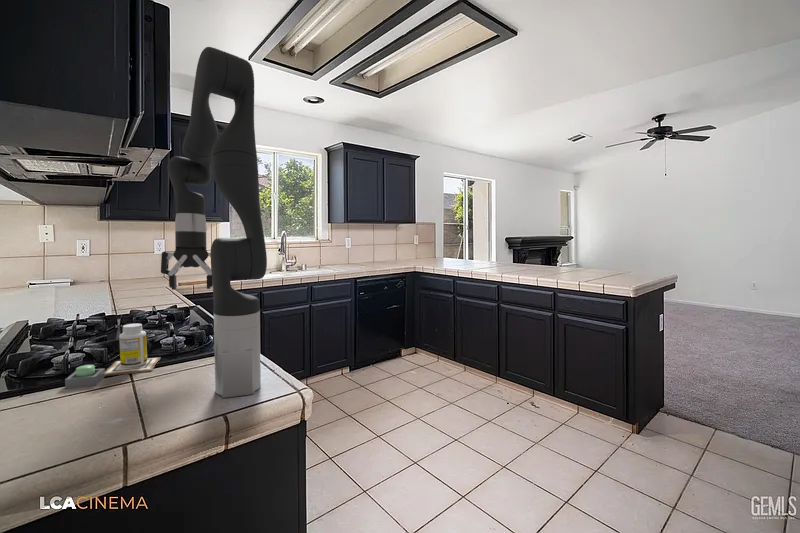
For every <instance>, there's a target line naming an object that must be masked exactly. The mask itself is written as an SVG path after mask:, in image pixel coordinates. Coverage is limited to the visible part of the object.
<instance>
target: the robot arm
mask: <svg viewBox="0 0 800 533" xmlns="http://www.w3.org/2000/svg"><path fill="white" fill-rule="evenodd" d="M254 74H255V73H254V69H253V66H252V63H250V62H249V61H248V60H246V59H244V58H243V57H239V56H237V55H235V54H232V53H229V52H226V51H224V50H221V49H218V48H216V47H212V46H206V47H204V48H203V50H202V51H201V52H200V55H199V58H198V61H197V65H196V70H195V77H194V85H193V91H192V98H191V99H192V100H191V109H190V115H189V117H190V118H189V123H188V127H187V129H186V134H185V135H184V139H183V143H182V148H181V149H182V154H183V155H184V156H185V157H184V156H178V155H177V156H173V157H171V158H170V159H169V160H168V163H167V173H168V176H169V179H170V182H171V185H172V188H173V192H174V197H175V220H174V229H175V230H174V234H175V235H174V237H175V238H174V239H175V240H174V242H175V244H174V245H175V248H174V252H172V251H171V252H169V251H163V252H161V257H160V258H161V260H160V273H161V274H165V275H167V276H168V287H169V288H170V289H171V290H177V275H176V274H177V273H178V272H179V271H180V270H181V269H182V268H199V267H201V269H202V270H204V272H205V273H206V274H207V275H206V289H207V290H210V289H211V288H212V297H213V298H212V299H213V302H212V303H213V343H214V346H213V348H214V349H213V350H214V352H213V353H214V383H215V384H214V385H215V386H214V388H215V391H214V392H215V393H216V394H217V395H218V396H221V398H222V399H224V398H225V399H226V398H233V397H240V396H241V397H242V396H246V395H247V396H248V395H254V394H255V392H256V391H257V390H259V389H260V388H261V386H262V385H261V380H262V379H261V376H262V375H261V372H262V370H261V368H262V367H261V310H260V309H261V307H260V306H261V304H260V299H259V298H258V297H257V296H255V295H251V294H248V293H244V292H243V293H242V292H240V291H238V290H236V289H235V288H233V287H232V285H231V282H237V281H254V280H256V281H257V280H262V279H263V278H264V277H265V275H266V272H267V266H268V259H267V258H268V256H267V249H266V241H265V234H264V227H263V222H262V213H261V203H260V187H259V186H260V183H259V180H260V179H259V166H258V164H259V163H258V156H257V155H258V154H257V147H256V146H257V145H256V134H255V132H256V131H255V75H254ZM211 94H212V95H217V96H219V97H224V98H227V99H229V100H233V101H234V113H233V116H232V118H231V120H230V121H229V123H228V124H227V125H226V127H225V128H224V129H223V131H222V132H221V134H220V135H219V130H218V126H217V125H218V124H217V122H216V120H215V118H214V116H213V113H212V111H211V106H210V97H211V96H210V95H211ZM212 174H213V175H212ZM212 176H213V180H214V182H215V184H216V186H217V188H218V189H219V191H220V193H221V194H222V195H223V196H224V198H225V199H226V200H227V202H228V203H229V204H230V206H232V208H233V209H234V211H235V212H236V213H237V216H238V218H239V220H240V221H241V224H242V226H243V230H244V233H245V237H218V238H215V239H214V240H213V241H212V242H211V247H210V252H208V250H207V221H206V199H205V197H204V195H203V194H201V193H198V192H194V191H192V190H190V189H189V188H188V187H187V185H192V186H201V187H202V186H206V185H208V184H209V183H210V182H211V180H212ZM209 257H210V266H211V267H210V266H209V265H208V264H207V263H206V262H205V261H206V260H207V259H208V258H209ZM172 258H175V260H176V263H175V264H174V265H173V267H172V268H171V269H169V264H170V262H169V261H170V260H171V259H172Z"/></svg>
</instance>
